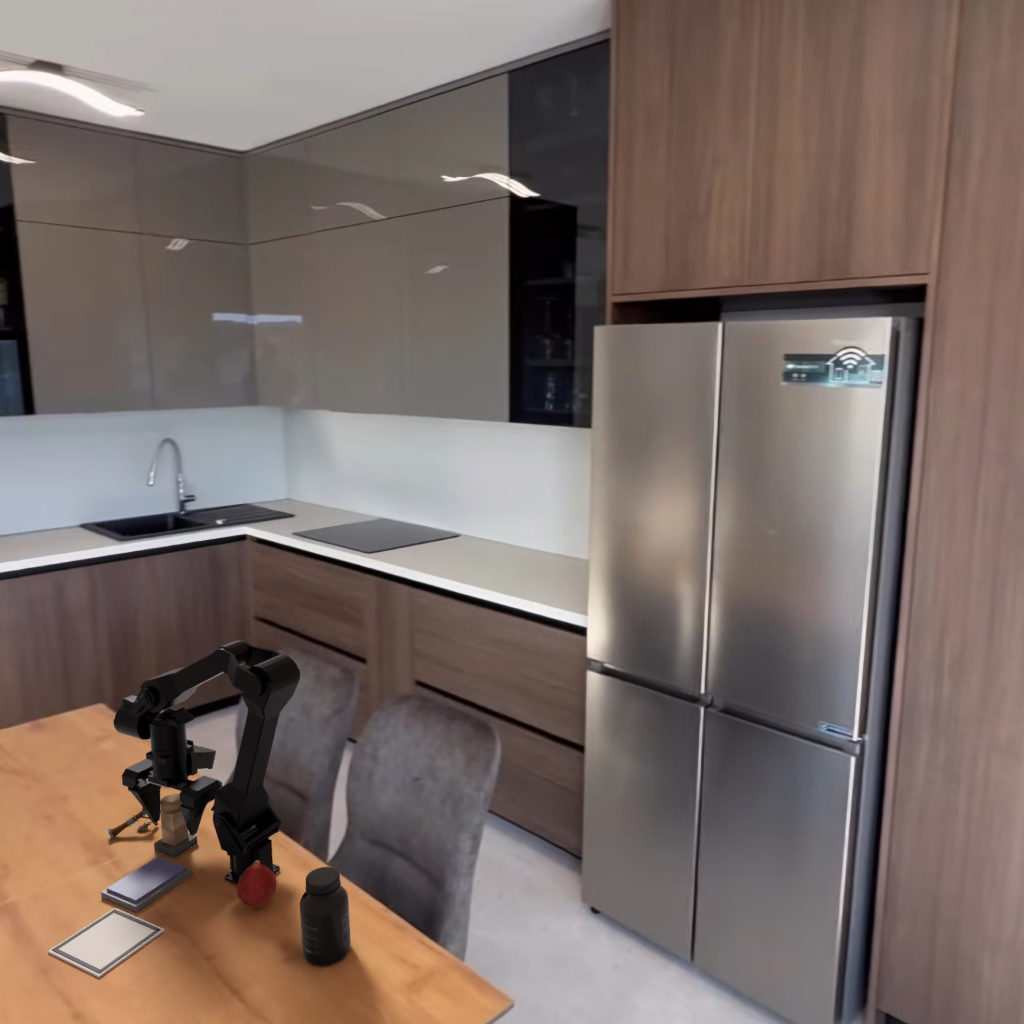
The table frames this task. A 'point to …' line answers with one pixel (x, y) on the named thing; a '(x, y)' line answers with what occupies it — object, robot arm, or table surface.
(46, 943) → the table surface
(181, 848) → the stamp
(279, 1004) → the table surface
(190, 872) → the ink pad
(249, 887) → the onion
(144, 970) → the table surface
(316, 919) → the supplement bottle
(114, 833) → the wooden post with brackets
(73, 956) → the marked card
